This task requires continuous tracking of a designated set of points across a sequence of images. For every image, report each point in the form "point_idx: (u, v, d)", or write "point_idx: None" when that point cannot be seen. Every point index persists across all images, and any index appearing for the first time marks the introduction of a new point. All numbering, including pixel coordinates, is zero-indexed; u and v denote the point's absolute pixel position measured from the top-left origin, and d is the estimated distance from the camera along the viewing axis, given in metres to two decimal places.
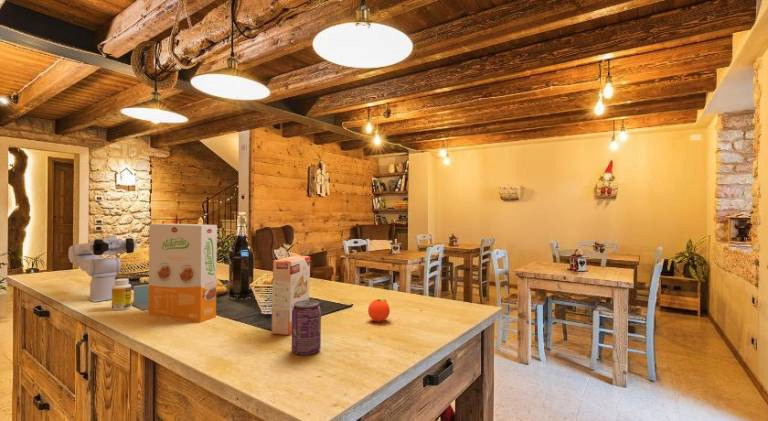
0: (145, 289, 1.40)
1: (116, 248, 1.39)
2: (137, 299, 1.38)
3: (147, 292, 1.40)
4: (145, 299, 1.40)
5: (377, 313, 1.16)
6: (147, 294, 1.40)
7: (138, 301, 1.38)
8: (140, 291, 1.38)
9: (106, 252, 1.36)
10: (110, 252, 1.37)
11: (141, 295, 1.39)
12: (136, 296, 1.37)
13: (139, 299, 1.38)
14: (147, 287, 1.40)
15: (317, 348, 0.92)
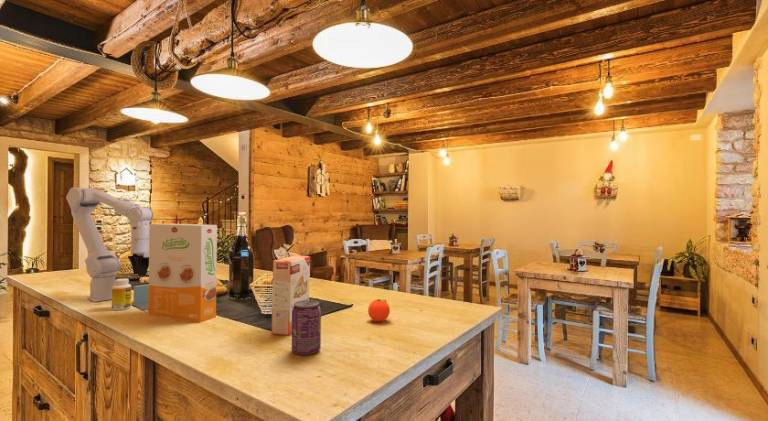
0: (145, 289, 1.40)
1: None
2: (137, 299, 1.38)
3: (147, 292, 1.40)
4: (145, 299, 1.40)
5: (377, 313, 1.16)
6: (147, 294, 1.40)
7: (138, 301, 1.38)
8: (140, 291, 1.38)
9: (135, 253, 1.40)
10: None
11: (141, 295, 1.39)
12: (136, 296, 1.37)
13: (139, 299, 1.38)
14: (147, 287, 1.40)
15: (317, 348, 0.92)
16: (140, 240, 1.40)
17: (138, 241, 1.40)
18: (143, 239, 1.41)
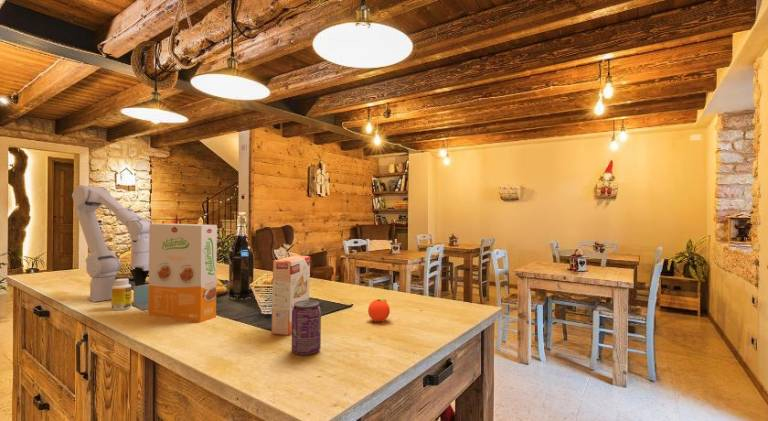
0: (145, 289, 1.40)
1: None
2: (137, 299, 1.38)
3: (147, 292, 1.40)
4: (145, 299, 1.40)
5: (377, 313, 1.16)
6: (147, 294, 1.40)
7: (138, 301, 1.38)
8: (140, 291, 1.38)
9: (135, 266, 1.40)
10: None
11: (141, 295, 1.39)
12: (136, 296, 1.37)
13: (139, 299, 1.38)
14: (147, 287, 1.40)
15: (317, 348, 0.92)
16: (140, 253, 1.40)
17: (138, 254, 1.40)
18: (143, 252, 1.41)
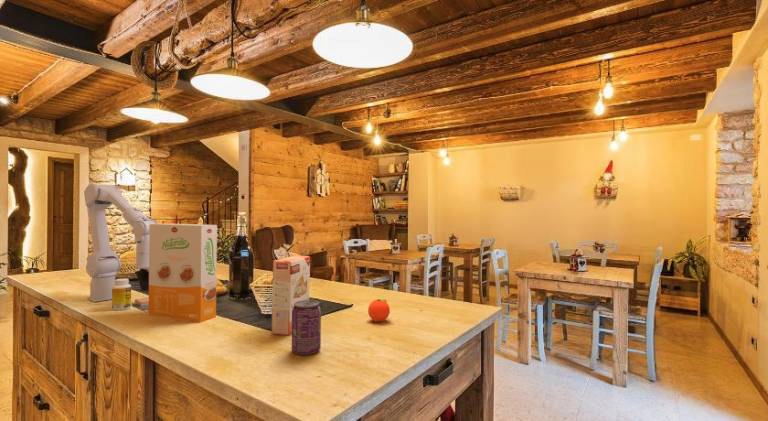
0: None
1: None
2: None
3: None
4: None
5: (377, 313, 1.16)
6: None
7: None
8: None
9: (140, 268, 1.36)
10: None
11: None
12: None
13: None
14: None
15: (317, 348, 0.92)
16: (145, 254, 1.37)
17: (143, 255, 1.36)
18: (148, 253, 1.37)
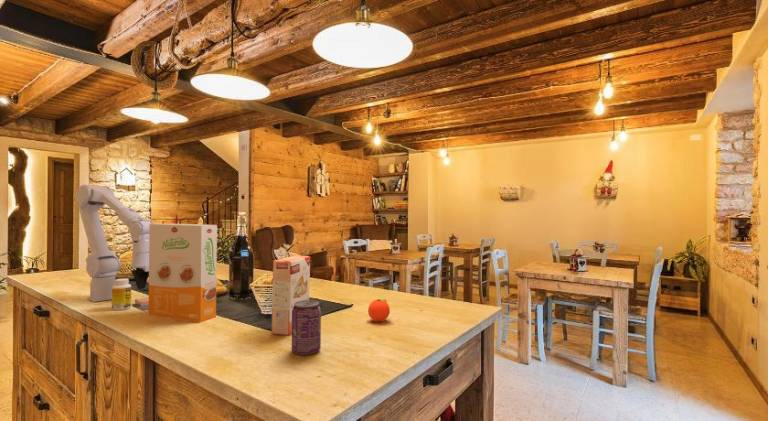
0: None
1: None
2: None
3: None
4: None
5: (377, 313, 1.16)
6: None
7: None
8: None
9: None
10: None
11: None
12: None
13: None
14: None
15: (317, 348, 0.92)
16: (141, 254, 1.39)
17: (139, 255, 1.39)
18: (144, 253, 1.40)
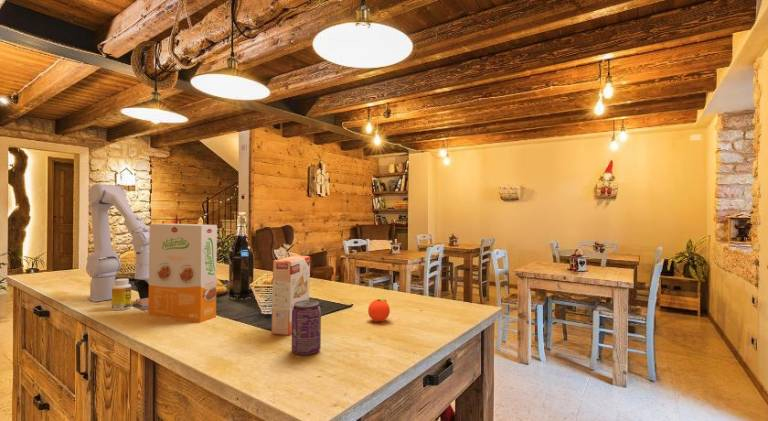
0: None
1: None
2: None
3: None
4: None
5: (377, 313, 1.16)
6: None
7: None
8: None
9: None
10: None
11: None
12: None
13: None
14: None
15: (317, 348, 0.92)
16: (144, 265, 1.37)
17: (142, 266, 1.37)
18: (147, 264, 1.38)
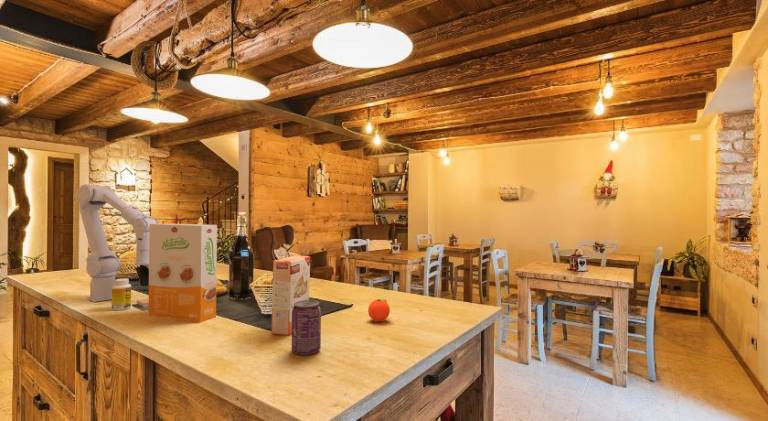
0: None
1: None
2: None
3: None
4: None
5: (377, 313, 1.16)
6: None
7: None
8: None
9: (140, 264, 1.39)
10: None
11: None
12: None
13: None
14: None
15: (317, 348, 0.92)
16: (145, 251, 1.40)
17: (143, 252, 1.39)
18: (148, 250, 1.40)
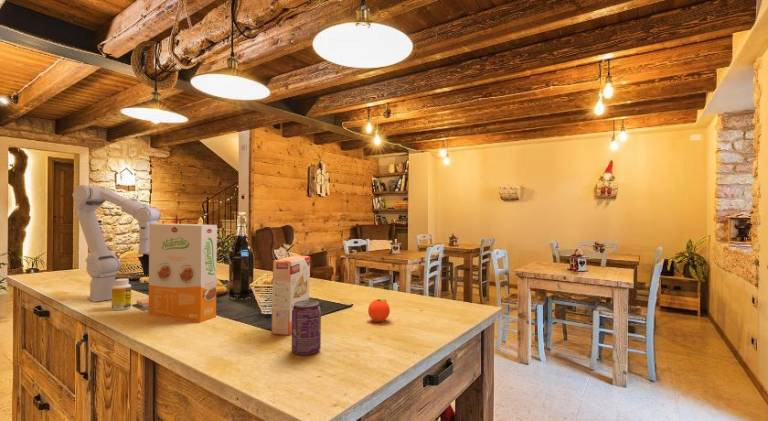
0: None
1: None
2: None
3: None
4: None
5: (377, 313, 1.16)
6: None
7: None
8: None
9: (143, 253, 1.40)
10: None
11: None
12: None
13: None
14: None
15: (317, 348, 0.92)
16: (148, 240, 1.40)
17: (146, 241, 1.40)
18: None
